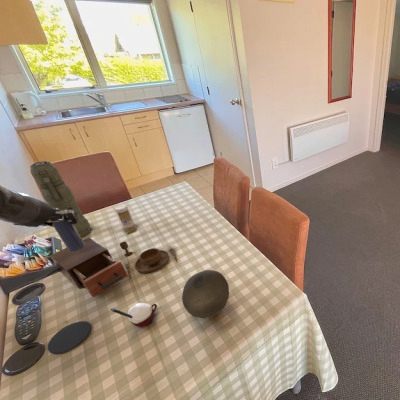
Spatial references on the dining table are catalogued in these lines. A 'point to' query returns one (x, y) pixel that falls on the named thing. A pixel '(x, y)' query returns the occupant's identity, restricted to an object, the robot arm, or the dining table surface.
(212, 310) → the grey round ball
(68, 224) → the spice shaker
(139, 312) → the cocoa
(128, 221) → the sprinkles bottle
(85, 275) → the drawer
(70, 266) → the cabinet
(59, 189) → the olive carved slab
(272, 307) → the dining table surface
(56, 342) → the mat
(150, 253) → the place setting
